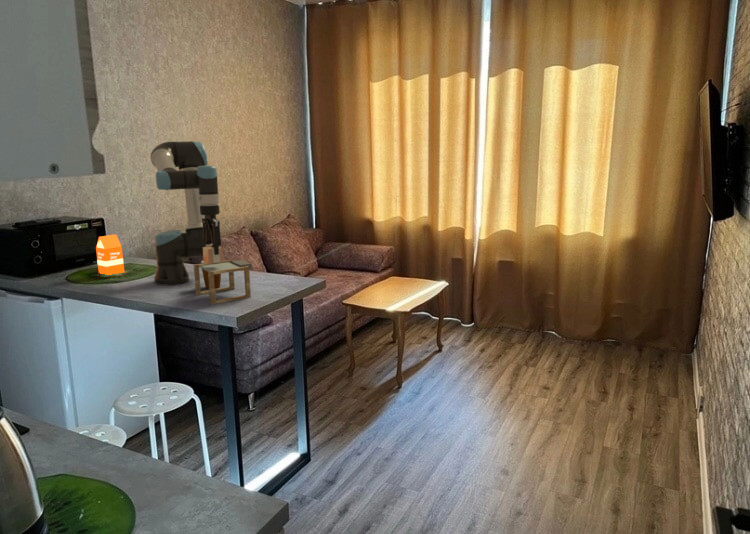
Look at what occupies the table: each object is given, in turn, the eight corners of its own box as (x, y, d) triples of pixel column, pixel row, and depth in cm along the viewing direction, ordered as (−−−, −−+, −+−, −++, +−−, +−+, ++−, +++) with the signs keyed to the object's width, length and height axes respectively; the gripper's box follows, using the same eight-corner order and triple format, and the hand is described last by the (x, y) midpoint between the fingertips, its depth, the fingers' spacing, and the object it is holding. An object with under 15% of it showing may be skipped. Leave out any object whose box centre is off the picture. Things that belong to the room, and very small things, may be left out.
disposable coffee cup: (222, 289, 246) (221, 262, 244) (200, 290, 245) (198, 263, 242) (225, 284, 255) (223, 258, 253) (203, 285, 254) (201, 259, 251)
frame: (195, 294, 238) (193, 264, 235) (233, 288, 248) (231, 259, 245) (211, 304, 223) (209, 272, 221) (250, 297, 233) (249, 266, 230)
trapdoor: (201, 269, 236) (200, 264, 235) (240, 264, 246) (240, 259, 245) (213, 276, 224) (213, 270, 224) (254, 270, 234) (254, 264, 234)
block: (203, 261, 231) (202, 247, 230) (217, 260, 235) (216, 245, 233) (208, 264, 226) (207, 249, 225) (223, 262, 230) (222, 247, 229)
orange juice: (99, 276, 272) (94, 236, 268) (116, 273, 279) (111, 233, 275) (108, 279, 268) (103, 237, 263) (125, 275, 275) (120, 235, 270)
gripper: (192, 203, 231) (196, 258, 236) (208, 207, 216) (212, 266, 221) (210, 202, 235) (213, 256, 240) (227, 205, 220) (231, 263, 225)
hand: (213, 261), depth 230 cm, fingers closed on block, 6 cm apart
